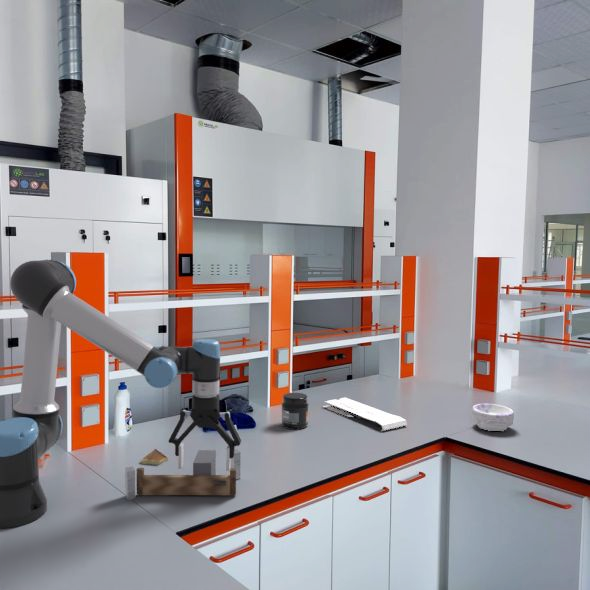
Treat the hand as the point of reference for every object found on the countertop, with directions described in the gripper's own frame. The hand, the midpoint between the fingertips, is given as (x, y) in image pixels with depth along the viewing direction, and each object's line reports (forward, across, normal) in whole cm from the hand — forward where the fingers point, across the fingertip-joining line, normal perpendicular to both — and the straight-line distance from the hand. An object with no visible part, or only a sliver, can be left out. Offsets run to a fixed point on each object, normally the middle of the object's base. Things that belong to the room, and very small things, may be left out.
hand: (204, 467), depth 157 cm
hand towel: (+6, +51, +73) cm, 89 cm away
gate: (+6, -4, -5) cm, 9 cm away
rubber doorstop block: (+6, 0, +1) cm, 6 cm away
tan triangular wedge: (+7, -21, +20) cm, 30 cm away
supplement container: (+6, +23, +59) cm, 64 cm away
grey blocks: (+6, -6, 0) cm, 9 cm away
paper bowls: (+5, +100, +62) cm, 118 cm away
